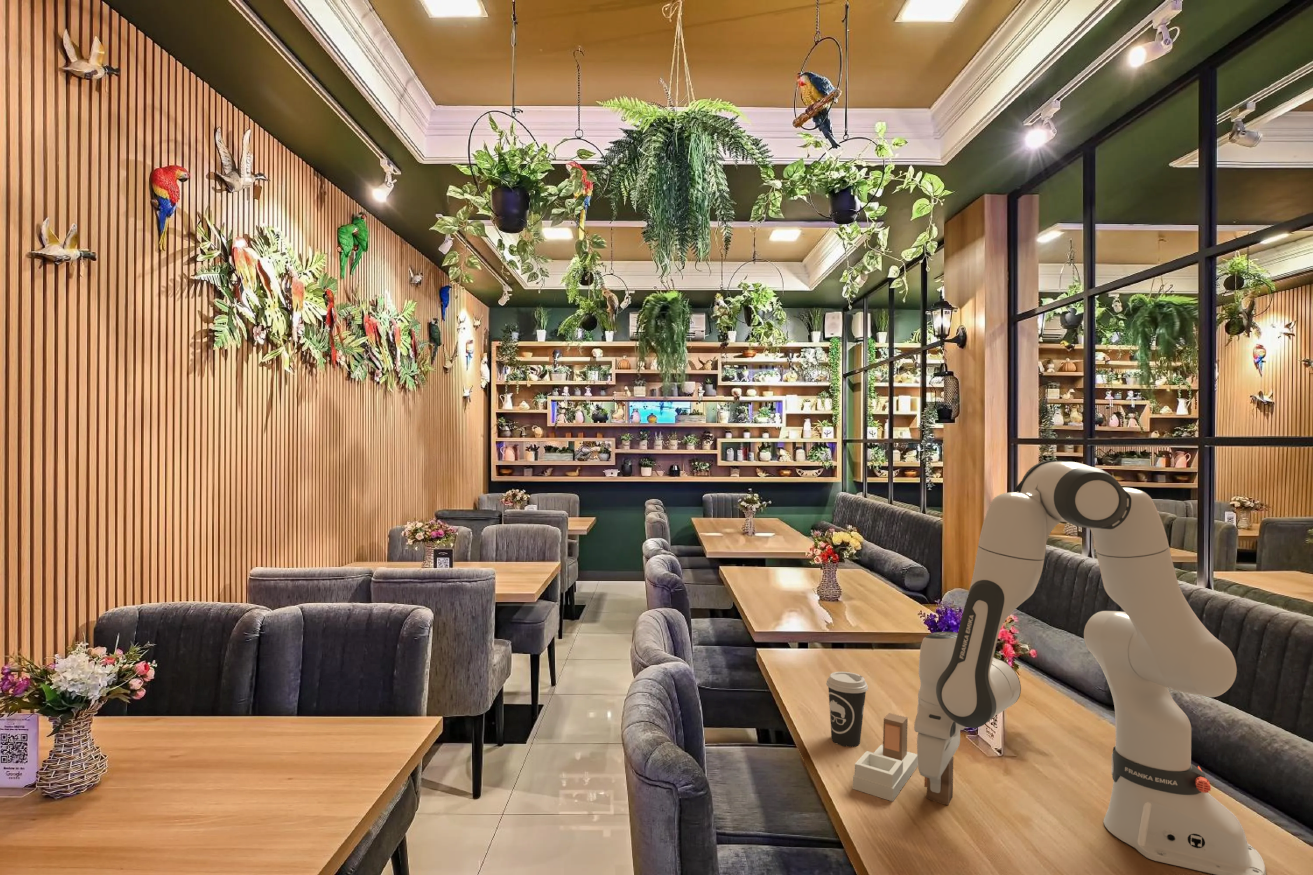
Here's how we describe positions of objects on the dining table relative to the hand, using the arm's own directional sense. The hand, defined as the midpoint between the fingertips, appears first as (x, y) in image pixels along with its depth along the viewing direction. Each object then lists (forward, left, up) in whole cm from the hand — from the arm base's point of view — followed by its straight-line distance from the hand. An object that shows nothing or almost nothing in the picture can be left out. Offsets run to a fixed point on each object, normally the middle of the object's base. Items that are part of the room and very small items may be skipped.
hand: (939, 783), depth 133 cm
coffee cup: (+24, -14, -3) cm, 28 cm away
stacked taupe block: (0, 0, -3) cm, 3 cm away
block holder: (+11, -2, -3) cm, 12 cm away
